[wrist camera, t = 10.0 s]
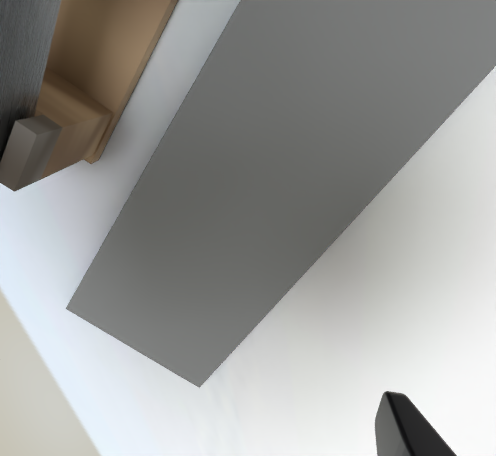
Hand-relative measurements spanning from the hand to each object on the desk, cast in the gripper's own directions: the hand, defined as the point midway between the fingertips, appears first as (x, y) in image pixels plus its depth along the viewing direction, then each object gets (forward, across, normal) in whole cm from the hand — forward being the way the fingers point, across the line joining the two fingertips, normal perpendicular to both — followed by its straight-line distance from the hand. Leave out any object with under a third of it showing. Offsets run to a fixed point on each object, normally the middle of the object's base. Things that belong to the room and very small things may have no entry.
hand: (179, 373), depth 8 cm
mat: (+12, 0, 0) cm, 12 cm away
